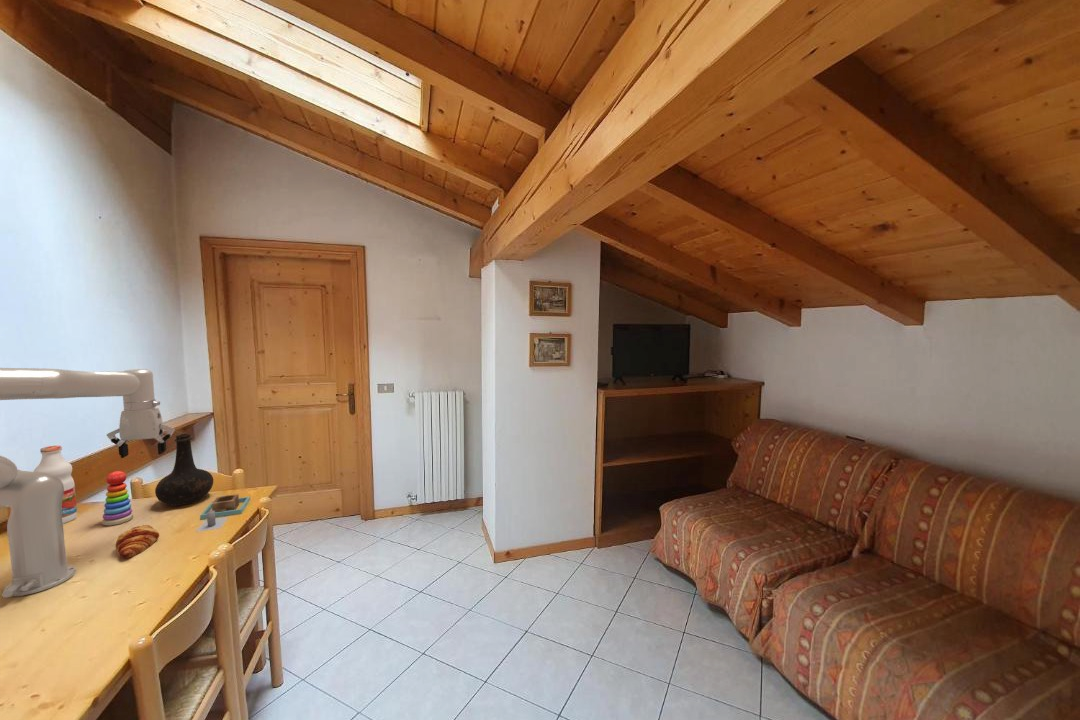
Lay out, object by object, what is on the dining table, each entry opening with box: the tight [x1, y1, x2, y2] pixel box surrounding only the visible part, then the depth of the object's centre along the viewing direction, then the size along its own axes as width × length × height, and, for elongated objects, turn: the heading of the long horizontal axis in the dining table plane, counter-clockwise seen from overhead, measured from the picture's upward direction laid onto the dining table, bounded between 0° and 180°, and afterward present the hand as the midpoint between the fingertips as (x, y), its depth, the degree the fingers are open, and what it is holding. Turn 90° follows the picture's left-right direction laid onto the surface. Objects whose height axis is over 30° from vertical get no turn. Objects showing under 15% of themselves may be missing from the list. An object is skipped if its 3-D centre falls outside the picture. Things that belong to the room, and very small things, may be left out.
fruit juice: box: [33, 445, 78, 524], centre depth 146 cm, size 9×9×28 cm
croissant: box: [115, 524, 160, 559], centre depth 131 cm, size 21×10×8 cm, turn 33°
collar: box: [211, 493, 240, 513], centre depth 155 cm, size 7×8×4 cm
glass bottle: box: [154, 433, 214, 506], centre depth 164 cm, size 18×18×28 cm
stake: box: [195, 510, 229, 533], centre depth 145 cm, size 9×7×6 cm
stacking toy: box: [101, 470, 134, 526], centre depth 147 cm, size 8×8×19 cm
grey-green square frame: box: [199, 496, 251, 521], centre depth 156 cm, size 13×13×2 cm
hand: (143, 455), depth 136 cm, fingers open, 9 cm apart
